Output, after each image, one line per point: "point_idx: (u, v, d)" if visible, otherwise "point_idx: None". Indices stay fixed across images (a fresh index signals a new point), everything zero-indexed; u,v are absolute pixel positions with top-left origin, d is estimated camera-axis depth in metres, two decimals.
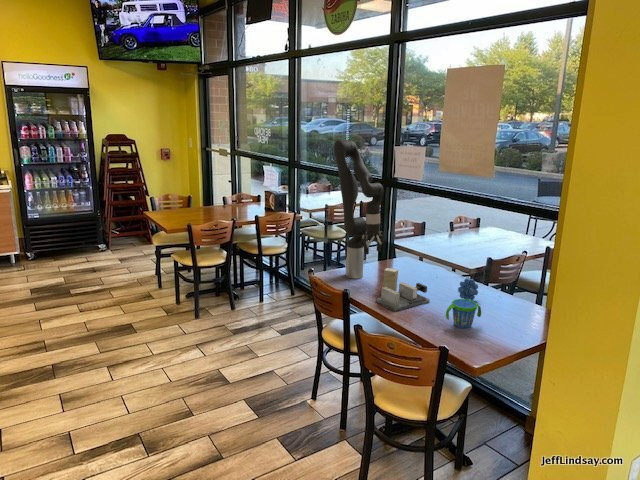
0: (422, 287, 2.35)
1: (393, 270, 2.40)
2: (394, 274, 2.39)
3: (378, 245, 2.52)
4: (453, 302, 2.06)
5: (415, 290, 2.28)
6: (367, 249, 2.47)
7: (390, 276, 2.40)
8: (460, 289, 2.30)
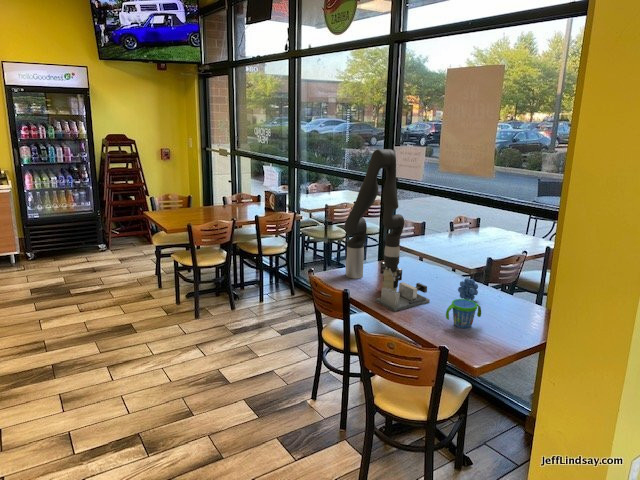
0: (422, 287, 2.35)
1: None
2: (394, 274, 2.39)
3: None
4: (453, 302, 2.06)
5: (415, 290, 2.28)
6: None
7: (390, 276, 2.40)
8: (460, 289, 2.30)
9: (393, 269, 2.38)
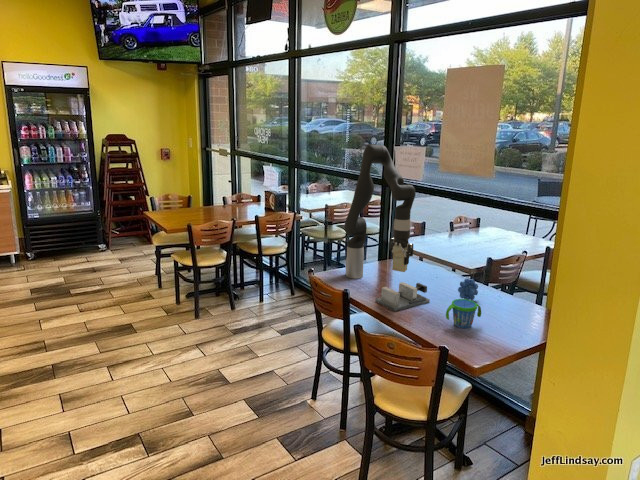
0: (422, 287, 2.35)
1: None
2: (404, 249, 2.21)
3: None
4: (453, 302, 2.06)
5: (415, 290, 2.28)
6: None
7: (400, 252, 2.22)
8: (460, 289, 2.30)
9: (403, 244, 2.20)
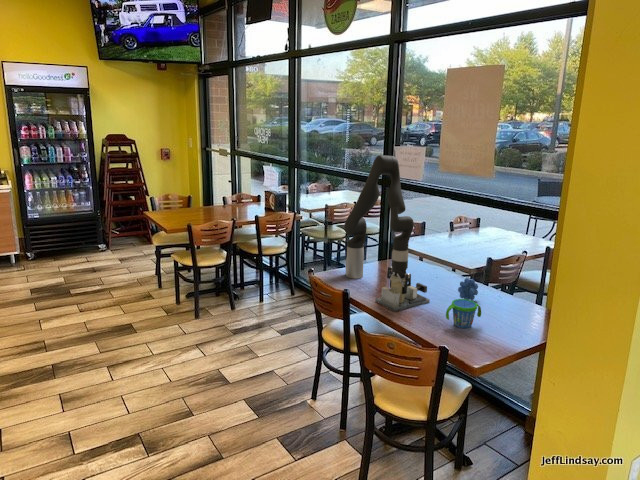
0: (422, 287, 2.35)
1: None
2: None
3: None
4: (453, 302, 2.06)
5: (415, 290, 2.28)
6: None
7: (398, 283, 2.26)
8: (460, 289, 2.30)
9: (401, 274, 2.23)
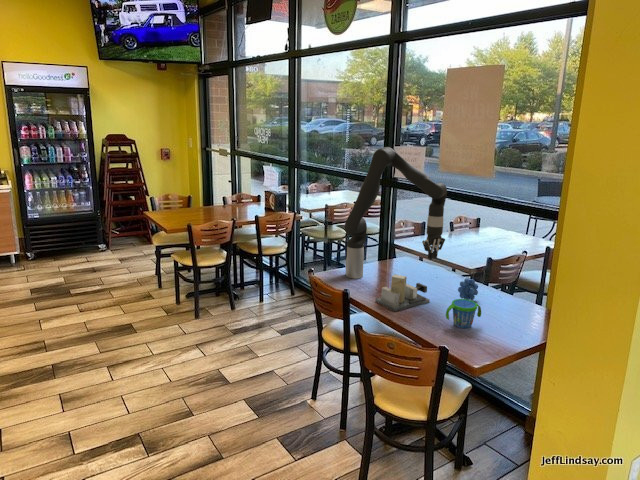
0: (422, 287, 2.35)
1: (401, 277, 2.26)
2: (402, 281, 2.24)
3: None
4: (453, 302, 2.06)
5: (415, 290, 2.28)
6: None
7: (398, 283, 2.26)
8: (460, 289, 2.30)
9: (439, 239, 2.35)
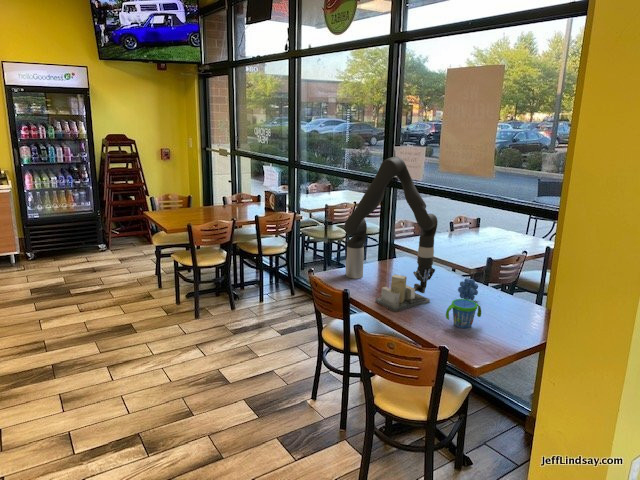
0: (420, 287, 2.35)
1: (401, 277, 2.26)
2: (402, 281, 2.24)
3: None
4: (453, 302, 2.06)
5: (413, 291, 2.27)
6: None
7: (398, 283, 2.26)
8: (460, 289, 2.30)
9: (430, 270, 2.36)
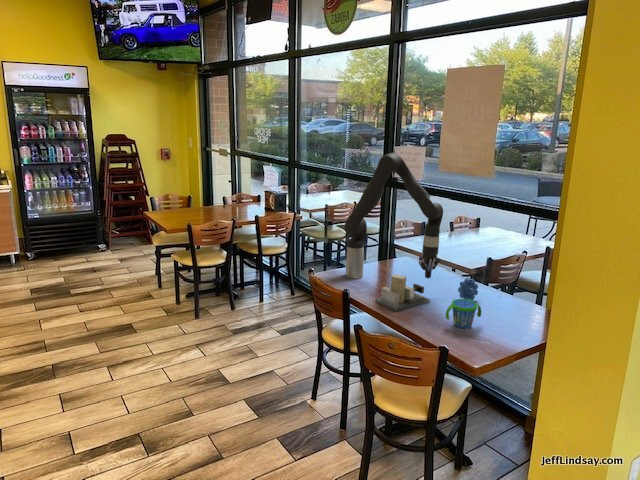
0: (419, 288, 2.34)
1: (401, 277, 2.26)
2: (402, 281, 2.24)
3: None
4: (453, 302, 2.06)
5: (412, 291, 2.27)
6: None
7: (398, 283, 2.25)
8: (460, 289, 2.30)
9: (435, 259, 2.36)
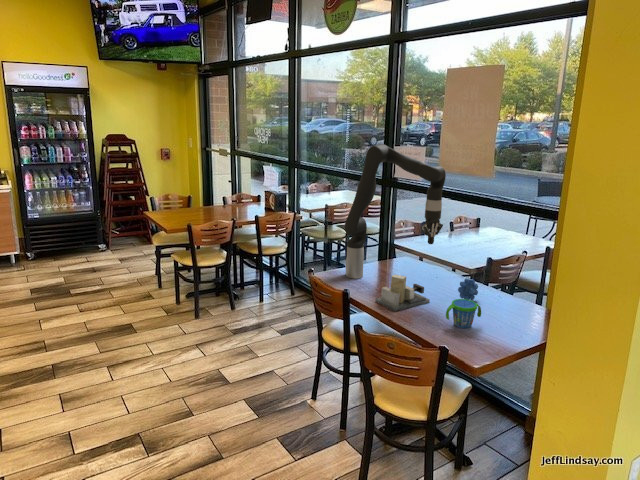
0: (419, 288, 2.34)
1: (401, 277, 2.26)
2: (402, 281, 2.24)
3: None
4: (453, 302, 2.06)
5: (412, 291, 2.27)
6: None
7: (398, 283, 2.25)
8: (460, 289, 2.30)
9: (437, 225, 2.31)
